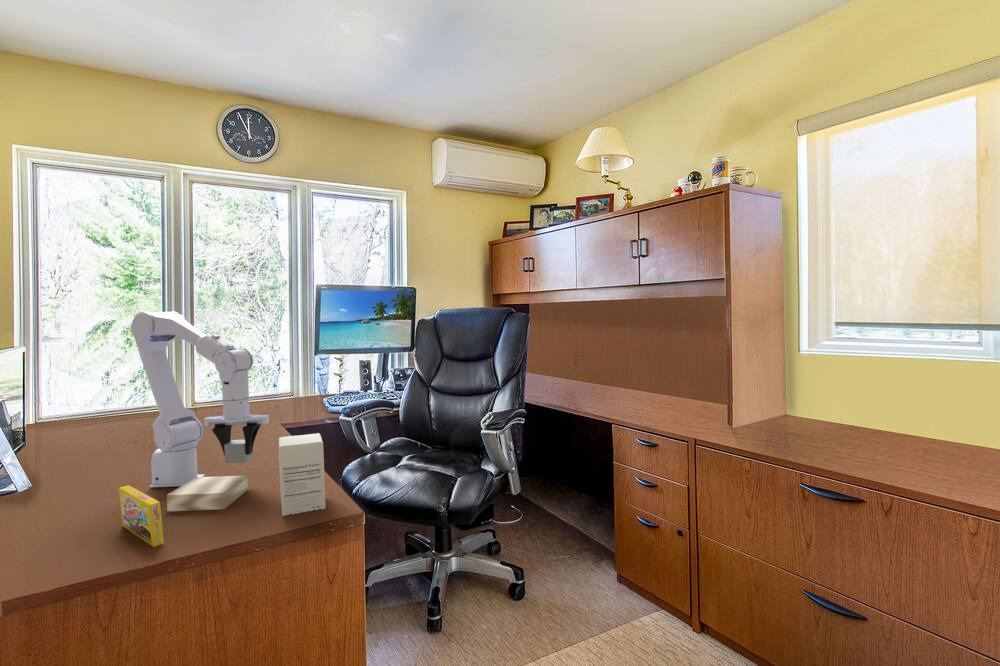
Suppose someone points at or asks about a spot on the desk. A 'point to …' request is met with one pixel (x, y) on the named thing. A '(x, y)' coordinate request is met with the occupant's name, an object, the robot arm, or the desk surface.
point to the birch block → (207, 493)
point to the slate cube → (236, 452)
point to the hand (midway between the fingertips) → (238, 453)
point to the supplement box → (301, 473)
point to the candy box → (141, 515)
